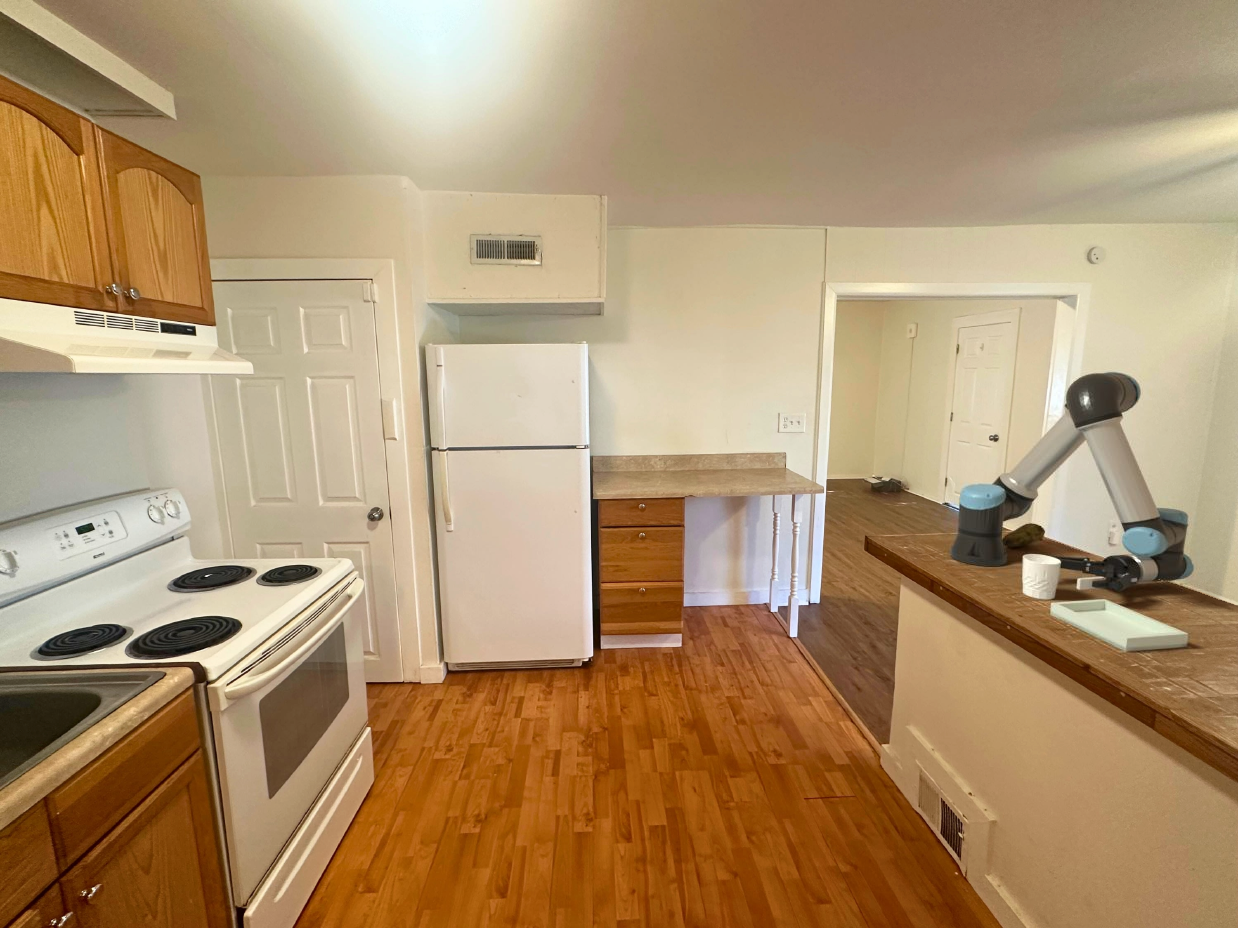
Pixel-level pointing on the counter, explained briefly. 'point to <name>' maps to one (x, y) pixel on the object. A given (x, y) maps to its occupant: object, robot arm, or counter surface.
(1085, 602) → the tray
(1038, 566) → the white cup
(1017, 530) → the avocado
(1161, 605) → the counter surface
